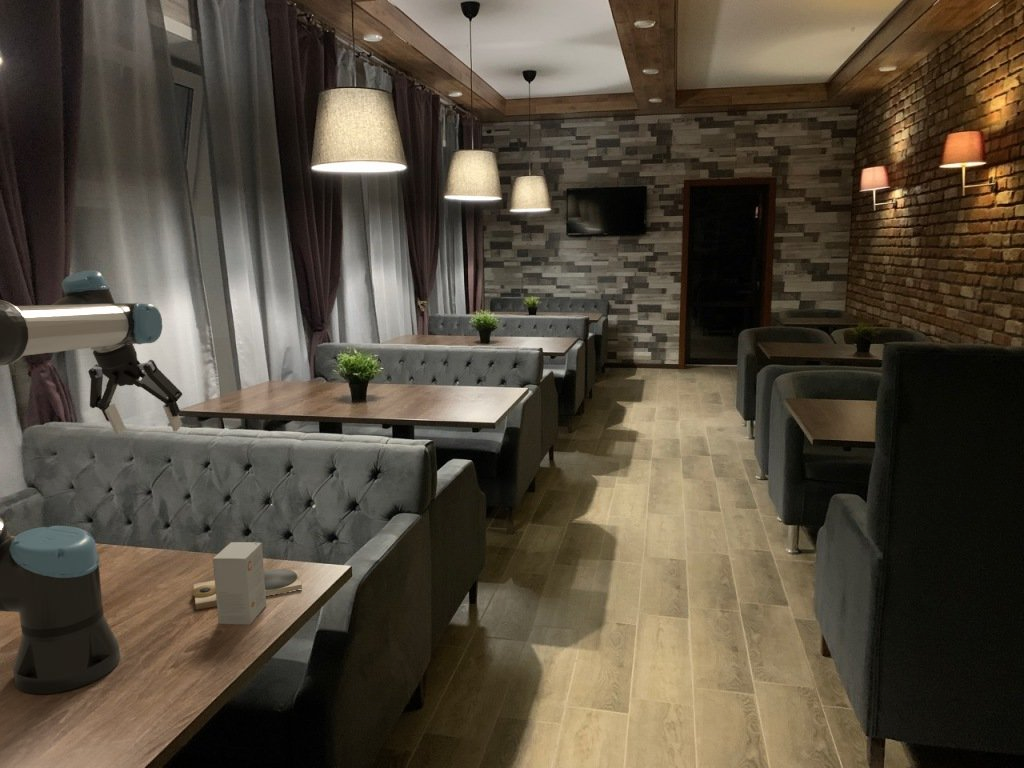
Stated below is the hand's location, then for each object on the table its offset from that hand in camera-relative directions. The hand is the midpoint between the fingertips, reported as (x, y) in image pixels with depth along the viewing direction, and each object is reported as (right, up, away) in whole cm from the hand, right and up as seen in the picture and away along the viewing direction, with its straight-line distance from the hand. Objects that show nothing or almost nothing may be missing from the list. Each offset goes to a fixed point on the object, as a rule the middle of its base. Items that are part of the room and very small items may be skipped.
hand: (149, 430), depth 167 cm
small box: (+29, -34, -23) cm, 50 cm away
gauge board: (+26, -32, -12) cm, 43 cm away
